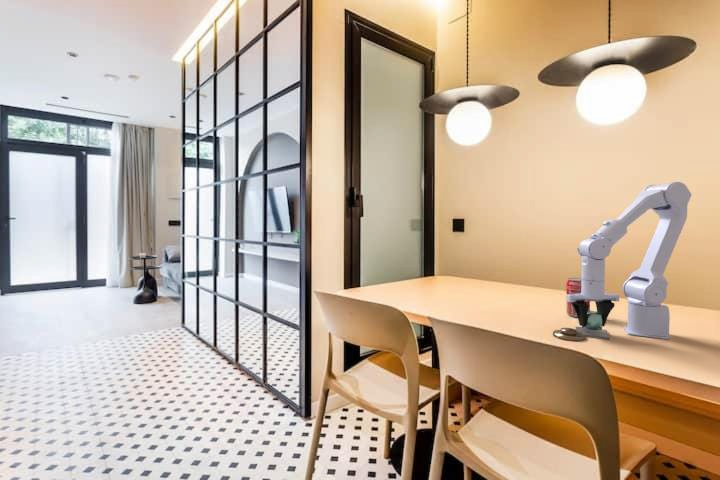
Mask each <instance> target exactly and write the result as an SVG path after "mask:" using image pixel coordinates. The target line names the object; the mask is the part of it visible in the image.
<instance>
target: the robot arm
mask: <svg viewBox="0 0 720 480" xmlns="http://www.w3.org/2000/svg"><path fill="white" fill-rule="evenodd" d="M692 196H693V194H692V192H691V191H690V190H689V188H688V186H687V185H686V184H685V183H684V182H681V181H674V182H670V183H661V184H650V185H648V186H646V187H645V188H644V189H643V190H642V191H640V192H639V193H638V195H637V197H636V199H634V200H633V201H632V202H631V204H630V205H628V206H627V208H626V209H625V210H624V211H623V212H622V213H621V214H619V216H618V217H617V218H616V219H609V220H605V221H603V222H602V226H601V227H600V228H599V229H598V230H596V232H595V233H592V234H591V235H590V238H587V239H586V238H585V239H584V240H582V241H581V242H580V243H579V246H578V247H577V248H576V249H577V250H576V251H577V253H578V254H579V256H580V258H581V259H580V260H581V277H580V278H581V293H578V294H565V301H568V302H571V304H572V306H573V307H574V309H575V311H576V314H577V317H578V318H577V320H578V325H579V326H580V327H582V326H583V327H586V324H587V312H588V308H589V305H587V304H586V303H585V301H590V302H595V306H596V312H600V313H602V327H605V326H606V322H607V320H608V317H609V314H610V313H611V311H613V309H614V308H615V306H616V305H615V304H616V303H614V302H620V294H617V293H605V284H606V283H605V282H606V281H605V280H606V279H605V275H606V273H605V271H606V270H605V269H606V258H607V257H609V256H610V254H611V251H612V250H611V249H612V248H613V247H614V245H615V244H617V243H618V242H619V241H620V240H621V239H622V238H623V237H624V236H626V235H627V234H628V227H629V226H631V224H633V223H634V222H635V221H636V220H637V219H639V218H640V217H641V216H643V215H644V214H646V212H647V211H649V210H652V211H653V212H654V213H655V214H656V215H658V217H659V222H658V223H657V227H656V229H655V232H654V234H653V237H652V238H651V241H650V243H649V246H648V249H647V251H646V253H645V255H644V257H643V260H642V263H641V265H640V267H639V268H638V269H635V270H634V271H633V272H631V274H630V276H629V277H628V279H626V280H625V281H624V282H623V285H622V293H623V295H624V296H625V297H626V301H627V325H625V326H623V328H624V330H625V331H626V334H627V335H630V336H638V337H639V336H640V337H647V338H648V337H649V338H657V339H662V340H663V339H665V340H669V339H670V323H671V322H670V318H671V317H670V308H669V306H668V305H666V304H662V303H664V302H665V300H666V298H667V295H668V293H667V288H668V286H669V281H668V280H667V279H666V277H665V276H664V273H665V271H666V268H667V266H668V264H669V262H670V259H671V256H672V254H673V252H674V249H675V247H676V245H677V242H678V240H679V237H680V236H681V233H682V231H683V228H684V226H685V224H686V221H687V218H688V204H689V202H690V200H691V197H692Z"/></svg>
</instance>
